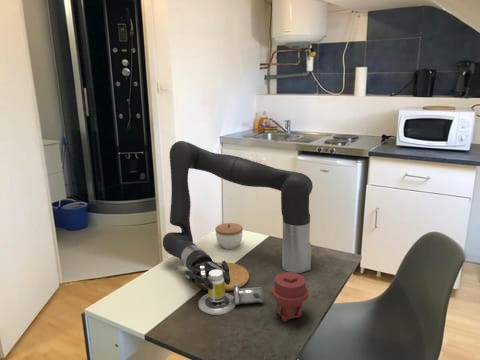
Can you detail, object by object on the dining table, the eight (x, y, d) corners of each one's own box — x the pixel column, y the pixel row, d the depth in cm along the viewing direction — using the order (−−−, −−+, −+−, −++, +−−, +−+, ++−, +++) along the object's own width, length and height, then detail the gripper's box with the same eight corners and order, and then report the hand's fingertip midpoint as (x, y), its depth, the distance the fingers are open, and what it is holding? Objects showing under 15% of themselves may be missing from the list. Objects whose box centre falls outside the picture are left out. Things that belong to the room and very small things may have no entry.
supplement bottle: (227, 295, 116) (226, 270, 113) (221, 304, 111) (220, 277, 109) (212, 292, 117) (211, 267, 115) (206, 301, 113) (204, 275, 111)
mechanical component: (271, 304, 114) (306, 306, 113) (271, 325, 104) (308, 327, 103) (272, 266, 111) (307, 267, 110) (271, 284, 101) (310, 286, 100)
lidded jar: (248, 245, 155) (248, 223, 152) (229, 254, 147) (228, 231, 145) (229, 238, 162) (228, 217, 160) (210, 246, 154) (209, 224, 152)
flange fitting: (260, 291, 121) (259, 275, 119) (265, 312, 110) (265, 294, 109) (198, 295, 119) (198, 279, 118) (198, 316, 109) (197, 298, 107)
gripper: (174, 255, 120) (196, 278, 106) (215, 244, 127) (242, 265, 113) (176, 276, 122) (197, 303, 108) (216, 265, 129) (242, 288, 115)
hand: (220, 283), depth 110 cm, fingers closed on supplement bottle, 4 cm apart
